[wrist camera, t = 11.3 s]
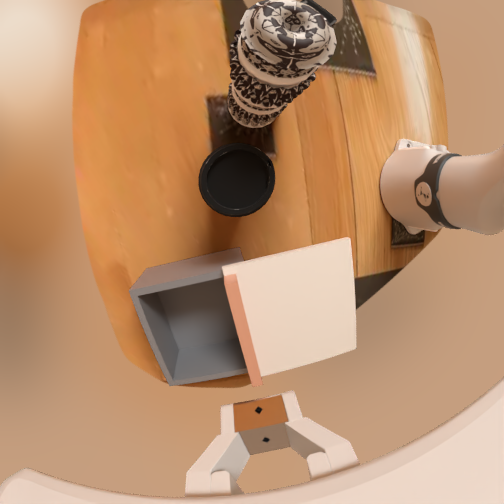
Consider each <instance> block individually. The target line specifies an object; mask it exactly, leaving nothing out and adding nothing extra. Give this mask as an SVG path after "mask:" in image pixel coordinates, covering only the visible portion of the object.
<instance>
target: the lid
mask: <svg viewBox="0 0 504 504" xmlns="http://www.w3.org/2000/svg"><path fill="white" fill-rule="evenodd" d="M222 270H223V274H224V285H225V289H226V292H227V296H228V300H229V304H230V308H231V312H232V315H233V319H234V323H235V326H236V330H237V334H238V337H239V341H240V345H241V348H242V352H243V355H244V359H245V362H246V366H247V369H248V373H249V376H250V380H251V383H252V386H253V387H255V386H260V385H263V382H262V378H261V377H262V376H266V375H271V374H275V373H279V372H282V371H286V370H290V369H293V368H297V367H301V366H304V365H308V364H311V363H314V362H317V361H321V360H324V359H327V358H330V357H333V356H336V355H339V354H342V353H345V352H348V351H351V350H354V349H356V307H355V288H354V273H353V261H352V250H351V240H350V238H348V237H345V238H341V239H337V240H333V241H329V242H324V243H320V244H316V245H312V246H307V247H303V248H299V249H294V250H290V251H286V252H282V253H277V254H273V255H269V256H264V257H260V258H256V259H251V260H247V261H243V262H238V263H234V264H229V265H225V266H222Z"/></svg>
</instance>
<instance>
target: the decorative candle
mask: <svg viewBox="0 0 504 504" xmlns="http://www.w3.org/2000/svg"><path fill="white" fill-rule="evenodd" d="M240 24H241V30H237V31H236V32H235V34H234V37H235V41H233V42H232V43H231V44H230V54H231V55H232V56H231V59H230V67H231V68H232V69H231V73H230V77H231V79H232V83H230V85H229V92H228V109H229V112H230V114H231V115H232V117H233V119H234V120H236V121H237V122H238V123H239V124H241V125H243V126H246V127H250V128H260V127H264V126H266V125H268V124H270V123H271V122H273V121H274V120H275V119H276V117H277V116H279V115H280V114H281V113H282V111H283V110H284V108H286V107H287V103H291V102H292V101H293V99H294V98H296V97H297V96H298V95H300V94H302V92H303V90H304V89H307V88H308V87H309V85H310V82H311V81H314V80H315V78H316V76H315V73H314V72H315V71H316V70H317V69H318V67H319V65H322V64H324V63H325V62H326V61H327V60H328V59H329V58H330V57H331V56H332V55H333V53H334V50H335V46H336V43H337V42H336V38H335V33H334V30H333V28H332V26H331V25H330V23H329V22H328V21H327V19H326V18H325V17H324V16H323V15H322V14H321V13H319V12H318V11H316V10H315V9H313V8H312V7H311V6H309V5H306V4H304V3H301V2H298V1H295V0H265V1H261V2H258V3H256V4H255V5H253V6H252V7H251V8H249V9H248V10H246V12H245V14H244V16H243V18H242V20H241V22H240Z"/></svg>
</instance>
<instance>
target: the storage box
mask: <svg viewBox="0 0 504 504" xmlns="http://www.w3.org/2000/svg"><path fill="white" fill-rule="evenodd" d="M243 261H244V260H243V256H242V253H241V250H240V247H238V248H233V249H229V250H224V251H220V252H216V253H211V254H207V255H203V256H198V257H194V258H190V259H185V260H181V261H177V262H172V263H168V264H164V265H160V266H155V267H151V268H147V269H146V270H145V271H144V272H143V274H142V275H141V276H140V277H139V278H138V280H137V281H136V282H135V283H134V285H133V286H132V287H131V288H130V290H129V292H130V295H131V298H132V301H133V303H134V306H135V309H136V311H137V314H138V316H139V319H140V321H141V324H142V326H143V329H144V331H145V334H146V336H147V338H148V341H149V343H150V345H151V348H152V350H153V352H154V354H155V357H156V359H157V361H158V363H159V365H160V367H161V370H162V372H163V374H164V376H165V378H166V380H167V382H168V384H169V386H174V385H181V384H188V383H195V382H201V381H207V380H213V379H219V378H224V377H229V376H234V375H239V374H244V373H248V369H247V366H246V362H245V359H244V355H243V352H242V348H241V345H240V341H239V337H238V334H237V330H236V326H235V323H234V319H233V315H232V312H231V308H230V304H229V300H228V296H227V292H226V289H225V285H224V274H223V270H222V266H225V265H229V264H234V263H238V262H243Z"/></svg>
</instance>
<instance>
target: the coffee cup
mask: <svg viewBox="0 0 504 504" xmlns="http://www.w3.org/2000/svg"><path fill="white" fill-rule="evenodd" d="M274 185H275V171H274V166H273V163H272V161H271V160H270V159H269V157H268V156H267V155H266V154H264V153H263V152H262V151H261V150H259V149H258V148H256V147H254V146H251V145H249V144H244V143H232V144H227V145H224V146H221V147H219V148H217V149H216V150H214V151H213V152H212V153H211V154H210V155H209V156H208V157H207V158H206V160H205V161H204V163H203V165H202V167H201V169H200V173H199V189H200V193H201V195H202V198H203V199H204V201H205V202H206V204H207V205H208V206H209V207H210V208H212V209H213V210H214V211H216V212H217V213H220V214H222V215H225V216H230V217H242V216H247V215H249V214H252V213H254V212H256V211H257V210H259V209H260V208H261V207H262V206H263V205H265V204H266V202H267V201H268V199H269V198H270V196H271V194H272V192H273V189H274Z"/></svg>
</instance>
